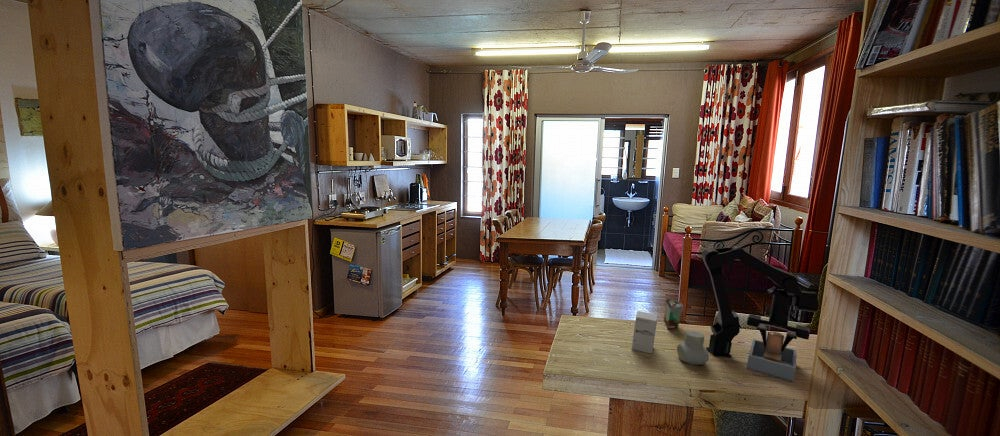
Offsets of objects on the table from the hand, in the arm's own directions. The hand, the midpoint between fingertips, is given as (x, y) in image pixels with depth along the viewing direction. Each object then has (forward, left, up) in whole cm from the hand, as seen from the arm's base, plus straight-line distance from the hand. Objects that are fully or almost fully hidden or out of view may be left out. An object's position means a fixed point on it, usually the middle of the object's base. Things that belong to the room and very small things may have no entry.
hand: (773, 348), depth 161 cm
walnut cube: (-5, -7, -4) cm, 10 cm away
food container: (-23, +29, -5) cm, 38 cm away
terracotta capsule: (0, 0, -2) cm, 2 cm away
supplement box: (-45, +7, -5) cm, 46 cm away
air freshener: (-31, -2, -5) cm, 31 cm away
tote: (-3, -4, -5) cm, 7 cm away
